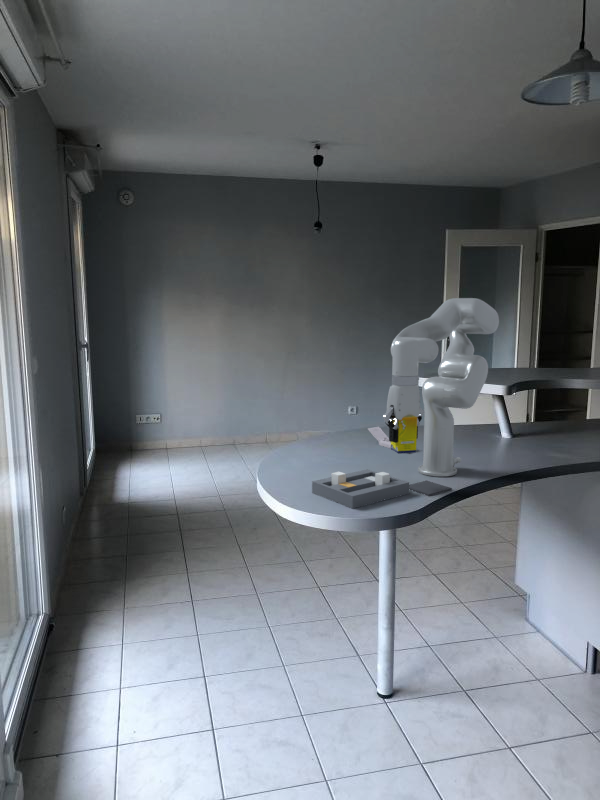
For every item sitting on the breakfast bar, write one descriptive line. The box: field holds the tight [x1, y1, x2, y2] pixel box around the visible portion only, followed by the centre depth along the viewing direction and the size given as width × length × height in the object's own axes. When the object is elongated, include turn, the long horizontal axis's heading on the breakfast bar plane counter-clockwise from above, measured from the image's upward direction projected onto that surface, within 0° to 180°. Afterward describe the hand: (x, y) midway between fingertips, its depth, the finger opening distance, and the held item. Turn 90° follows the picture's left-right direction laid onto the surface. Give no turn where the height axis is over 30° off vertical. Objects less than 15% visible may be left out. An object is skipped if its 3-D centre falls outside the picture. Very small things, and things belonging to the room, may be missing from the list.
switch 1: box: [331, 471, 347, 485], centre depth 184 cm, size 3×3×4 cm
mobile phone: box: [367, 426, 391, 450], centre depth 244 cm, size 6×6×25 cm
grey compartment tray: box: [311, 469, 410, 510], centre depth 184 cm, size 22×18×4 cm
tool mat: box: [409, 480, 453, 497], centre depth 189 cm, size 10×10×1 cm
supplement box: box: [391, 416, 418, 455], centre depth 187 cm, size 6×6×11 cm
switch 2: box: [375, 471, 391, 486], centre depth 184 cm, size 3×3×4 cm
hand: (403, 439), depth 187 cm, fingers closed on supplement box, 7 cm apart
